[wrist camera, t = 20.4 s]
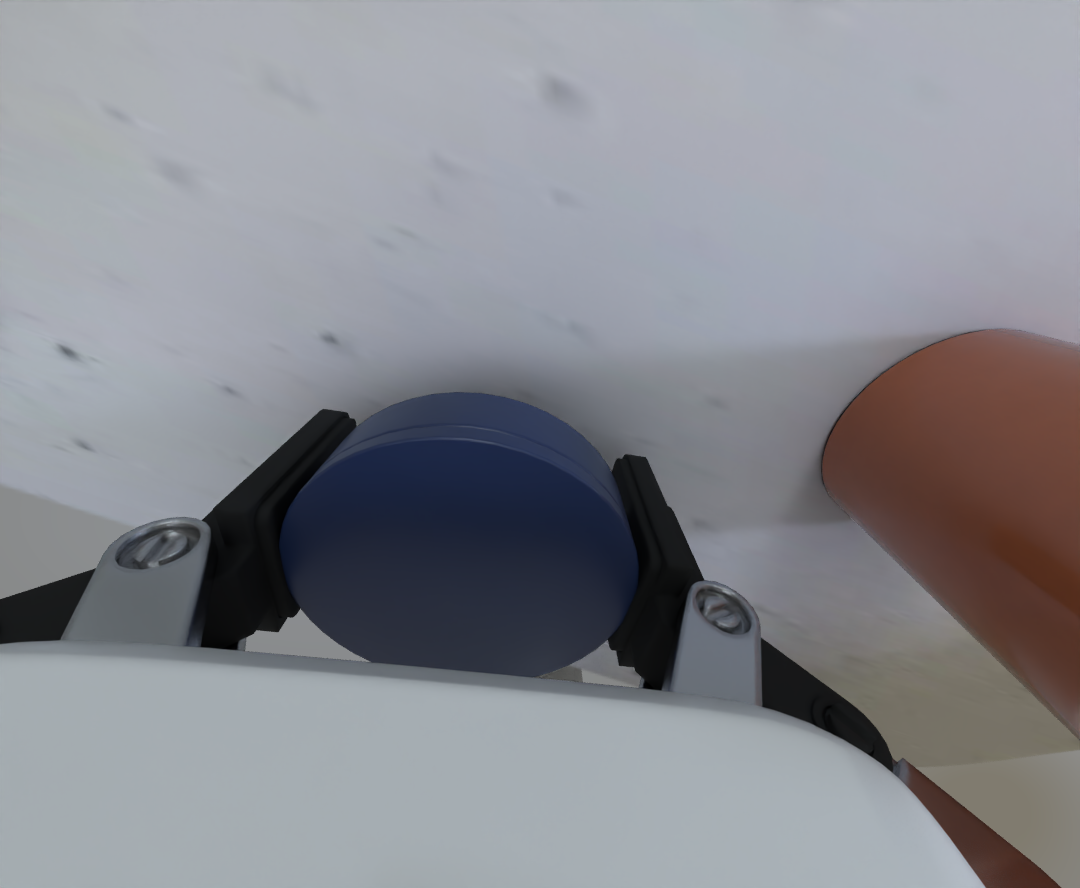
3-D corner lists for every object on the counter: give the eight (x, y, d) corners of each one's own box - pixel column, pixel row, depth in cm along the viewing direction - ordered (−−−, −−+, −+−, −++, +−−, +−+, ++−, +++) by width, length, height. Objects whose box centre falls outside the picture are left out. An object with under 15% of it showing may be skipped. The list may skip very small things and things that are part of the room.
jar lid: (641, 387, 7) (668, 432, 6) (614, 616, 11) (626, 682, 9) (277, 394, 7) (209, 441, 6) (366, 620, 11) (338, 686, 9)
